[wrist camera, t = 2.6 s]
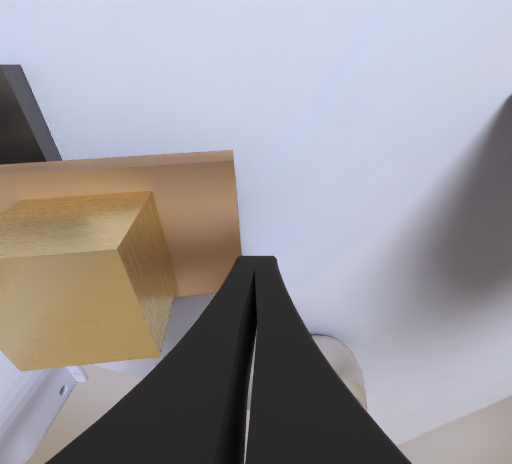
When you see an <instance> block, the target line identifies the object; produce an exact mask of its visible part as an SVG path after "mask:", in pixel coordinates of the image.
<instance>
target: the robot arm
mask: <svg viewBox="0 0 512 464" xmlns="http://www.w3.org/2000/svg"><path fill="white" fill-rule="evenodd" d="M256 329H257V335H256ZM255 336H256V349H255V362H254V374H253V386H252V398H251V409H250V421H249V431H248V442H247V452H246V462H245V464H412V463H411V462H410V461H409V460H408V459H407V458H406V457H405V456H404V454H402V452H401V451H400V450H399V449H398V448H397V447H396V445H395V444H394V443H393V442H392V441H391V440H390V439H389V437H388V436H387V435H386V434H385V433H384V432H383V430H382V429H381V428H380V427H379V426H378V425H377V423H376V422H375V421H374V420H373V419H372V417H371V416H370V415H369V414H368V413H367V411H366V410H365V409H364V408H363V407H362V405H361V404H360V403H359V401H358V400H357V399H356V398H355V396H354V395H353V394H352V392H351V391H350V390H349V389H348V387H347V386H346V385H345V383H344V382H343V381H342V379H341V378H340V377H339V376H338V374H337V373H336V372H335V370H334V369H333V368H332V366H331V365H330V363H329V362H328V360H327V359H326V357H325V356H324V355H323V353H322V352H321V350H320V349H319V347H318V346H317V344H316V343H315V341H314V339H313V338H312V336H311V335H310V333H309V331H308V330H307V328H306V326H305V325H304V323H303V321H302V319H301V317H300V316H299V314H298V312H297V310H296V308H295V306H294V304H293V302H292V300H291V298H290V296H289V294H288V292H287V290H286V287H285V285H284V282H283V280H282V277H281V274H280V271H279V268H278V264H277V259H276V258H275V257H274V256H239V257H238V258H237V259H236V261H235V263H234V265H233V267H232V269H231V271H230V272H229V274H228V276H227V278H226V279H225V281H224V283H223V284H222V286H221V287H220V289H219V290H218V292H217V293H216V295H215V296H214V298H213V299H212V301H211V302H210V304H209V305H208V306H207V308H206V309H205V310H204V312H203V313H202V314H201V316H200V317H199V318H198V320H197V321H196V322H195V323H194V325H193V326H192V327H191V328H190V330H189V331H188V332H187V333H186V334H185V336H184V337H183V338H182V339H181V340H180V341H179V342H178V344H177V345H176V346H175V347H174V348H173V349H172V350H171V351H170V352H169V353H168V354H167V355H166V356H165V357H164V359H163V360H162V361H161V362H160V363H159V364H158V365H157V366H156V367H155V368H154V369H153V370H152V371H151V372H150V373H149V374H148V375H147V376H146V377H145V378H144V379H143V380H142V381H141V382H140V383H139V384H137V385H136V386H135V387H134V388H133V389H132V390H131V391H130V392H129V393H128V394H127V395H125V396H124V397H123V398H122V399H121V400H120V401H119V402H118V403H117V404H116V405H115V406H114V407H112V408H111V409H110V410H109V411H108V412H107V413H106V414H104V415H103V416H102V417H101V418H100V419H99V420H98V421H96V422H95V423H94V424H93V425H91V427H89V428H88V429H87V430H86V431H84V432H83V433H82V434H81V435H80V436H78V437H77V438H76V439H74V440H73V441H72V442H71V443H70V444H68V445H67V446H66V447H65V448H63V449H62V450H61V451H60V452H59V453H57V454H56V455H55V456H54V457H53V458H51V459H50V460H49V461H47V462H46V463H45V464H244V453H245V433H246V415H247V414H246V413H247V398H248V388H249V380H250V373H251V365H252V358H253V351H254V344H255ZM87 379H88V376H87V375H86V373H85V372H84V371H83V369H82V368H81V366H80V365H77V366H67V367H58V368H49V369H40V370H31V371H21V372H20V371H19V369H18V368H17V367H16V366H15V365H14V364H13V363H12V362H11V361H10V360H9V359H8V358H7V357H6V356H5V355H4V354H3V352H2V351H1V350H0V464H25V463H26V462H27V460H28V459H29V458H30V457H31V456H32V454H33V453H34V452H35V450H36V449H37V447H38V446H39V444H40V442H41V441H42V439H43V437H44V436H45V434H46V432H47V431H48V429H49V427H50V426H51V424H52V423H53V421H54V419H55V418H56V416H57V414H58V413H59V411H60V409H61V408H62V406H63V404H64V403H65V401H66V400H67V398H68V396H69V395H70V393H71V391H72V389H73V388H74V387H75V385H76V383H77V382H86V380H87Z"/></svg>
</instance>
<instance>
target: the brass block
mask: <svg viewBox="0 0 512 464" xmlns="http://www.w3.org/2000/svg"><path fill="white" fill-rule="evenodd" d="M176 285H177V281H176V277H175V273H174V269H173V266H172V262H171V258H170V255H169V251H168V247H167V244H166V240H165V236H164V232H163V229H162V225H161V221H160V218H159V214H158V210H157V206H156V203H155V199H154V195H153V192H152V191H138V192H124V193H110V194H96V195H82V196H67V197H53V198H39V199H25V200H20V201H19V202H17V203H16V204H14V205H13V206H11V207H10V208H8V209H7V210H5V211H4V212H2V213H0V350H1V351H2V352H3V354H4V355H5V356H6V357H7V358H8V359H9V360H10V361H11V362H12V363H13V364H14V365H15V366H16V367H17V368H18V369H19V371H20V372H21V371H31V370H40V369H49V368H58V367H67V366H77V365H86V364H95V363H104V362H113V361H123V360H132V359H141V358H150V357H160V354H161V350H162V346H163V341H164V337H165V333H166V328H167V324H168V320H169V315H170V311H171V307H172V302H173V298H174V294H175V289H176Z"/></svg>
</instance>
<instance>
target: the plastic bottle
mask: <svg viewBox="0 0 512 464" xmlns="http://www.w3.org/2000/svg"><path fill="white" fill-rule="evenodd" d="M312 338H313V339H314V341H315V343H316V344H317V346H318V347H319V349H320V350H321V352H322V353H323V355H324V356H325V357H326V359H327V360H328V362H329V363H330V365H331V366H332V368H333V369H334V370H335V372H336V373H337V374H338V376H339V377H340V378H341V379H342V381H343V382H344V383H345V385H346V386H347V387H348V389H349V390H350V391H351V392H352V394H353V395H354V396H355V398H356V399H357V400H358V401H359V403H360V404H361V405H362V407H363V408H364V409H365V410H366V411H367V401H366V391H365V386H364V380H363V374H362V371H361V369H360V367H359V365H358V363H357V361H356V358H355V356H354V354H353V353H352V351H351V350H350V349H349V348H348V347H346V346H345V345H344V344H343V343H342V342H340V341H339V340H337V339H335V338H332V337H328V336H321V335H315V336H312Z"/></svg>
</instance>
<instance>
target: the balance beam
mask: <svg viewBox="0 0 512 464" xmlns="http://www.w3.org/2000/svg"><path fill="white" fill-rule="evenodd" d="M138 191H152V192H153V195H154V199H155V203H156V206H157V210H158V214H159V218H160V221H161V225H162V229H163V232H164V236H165V240H166V244H167V247H168V251H169V255H170V258H171V262H172V266H173V269H174V273H175V277H176V281H177V285H176V289H175V294H174V297H182V296H192V295H203V294H213V293H217V292H218V290H219V289H220V287H221V286H222V284H223V283H224V281H225V279H226V278H227V276H228V274H229V272H230V271H231V269H232V267H233V265H234V263H235V261H236V259H237V258H238V257H239V256H242V254H241V242H240V230H239V218H238V206H237V194H236V182H235V170H234V158H233V150H225V151H209V152H193V153H177V154H161V155H145V156H130V157H114V158H98V159H82V160H66V161H50V162H34V163H18V164H3V165H0V213H2V212H4V211H5V210H7V209H8V208H10V207H11V206H13V205H14V204H16V203H17V202H19V201H20V200H25V199H39V198H53V197H67V196H82V195H96V194H110V193H124V192H138Z"/></svg>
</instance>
